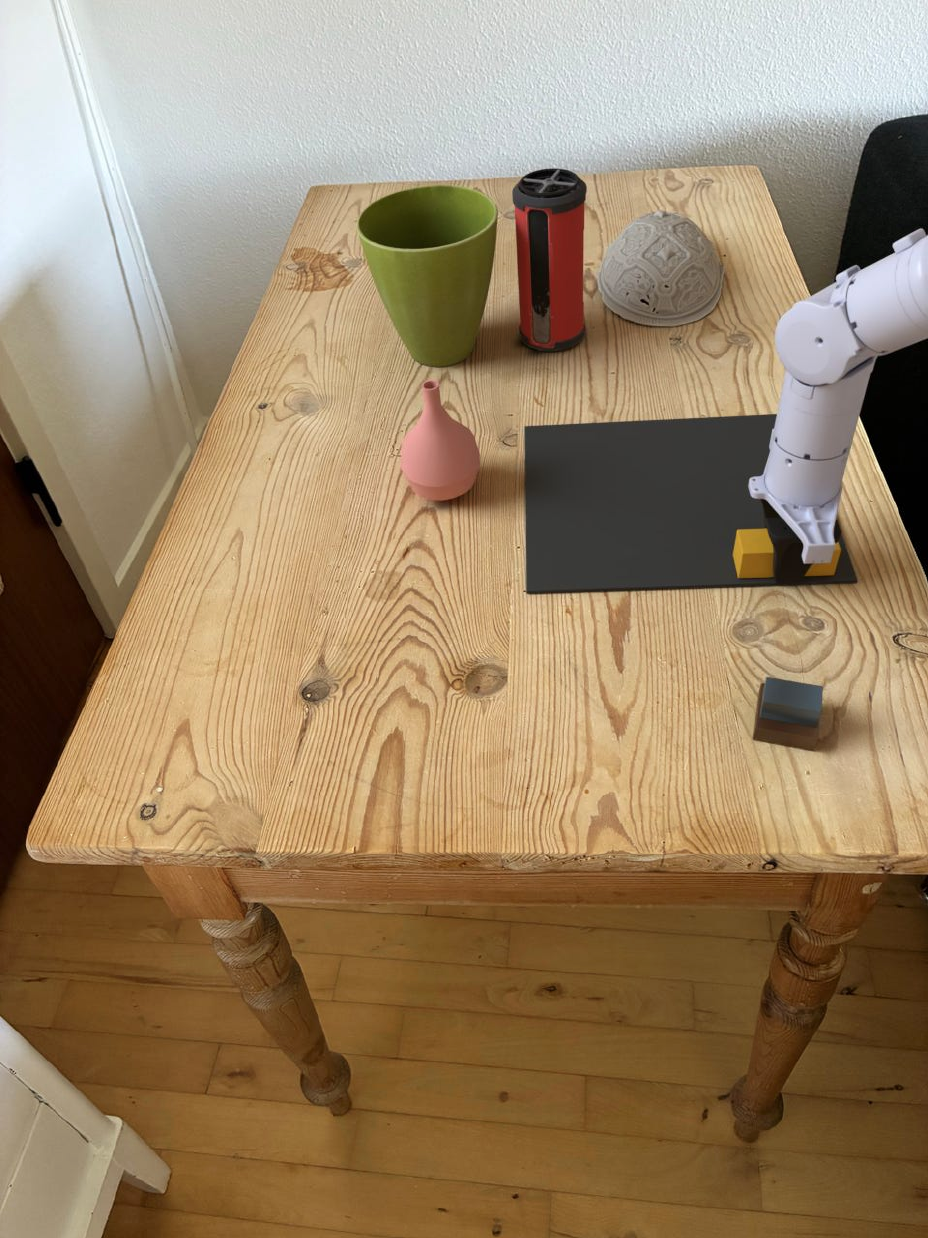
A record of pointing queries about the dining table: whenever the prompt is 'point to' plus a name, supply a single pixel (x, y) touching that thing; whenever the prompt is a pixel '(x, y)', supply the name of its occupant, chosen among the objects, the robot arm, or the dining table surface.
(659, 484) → the mat
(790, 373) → the robot arm
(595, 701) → the dining table surface
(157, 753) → the dining table surface
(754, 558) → the bar
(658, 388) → the dining table surface
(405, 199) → the flower pot
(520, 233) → the speaker
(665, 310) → the carved stone dome
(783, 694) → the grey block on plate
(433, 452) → the pink bud vase
